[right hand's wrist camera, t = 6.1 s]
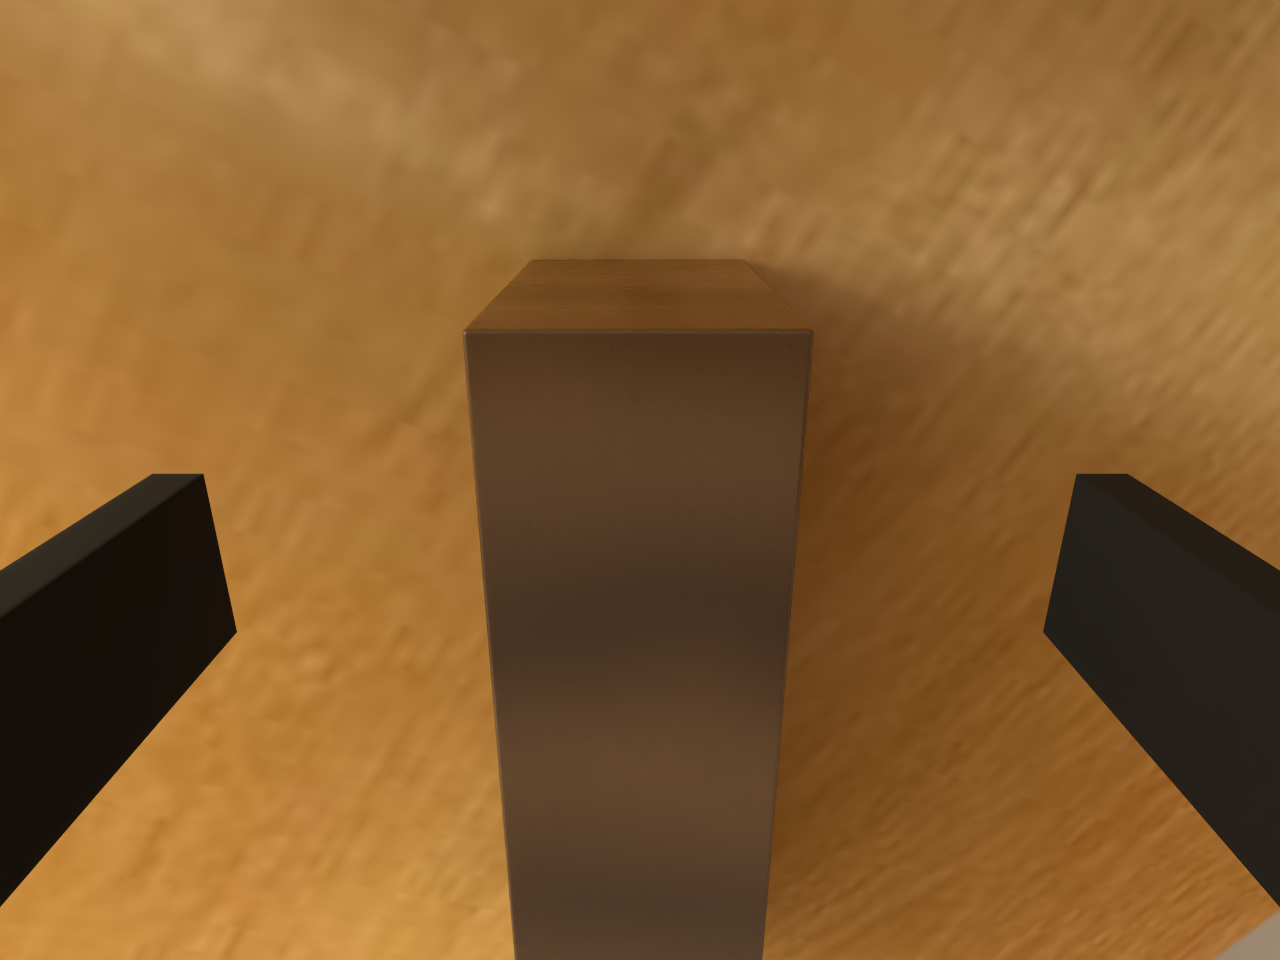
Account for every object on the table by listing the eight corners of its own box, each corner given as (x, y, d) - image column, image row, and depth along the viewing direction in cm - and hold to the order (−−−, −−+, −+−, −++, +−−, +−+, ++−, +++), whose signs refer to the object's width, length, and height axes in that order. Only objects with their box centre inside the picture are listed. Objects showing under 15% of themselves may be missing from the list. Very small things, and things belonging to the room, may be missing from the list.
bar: (529, 259, 20) (461, 329, 12) (745, 259, 20) (814, 329, 12) (563, 932, 28) (536, 1224, 21) (712, 931, 28) (741, 1223, 21)
